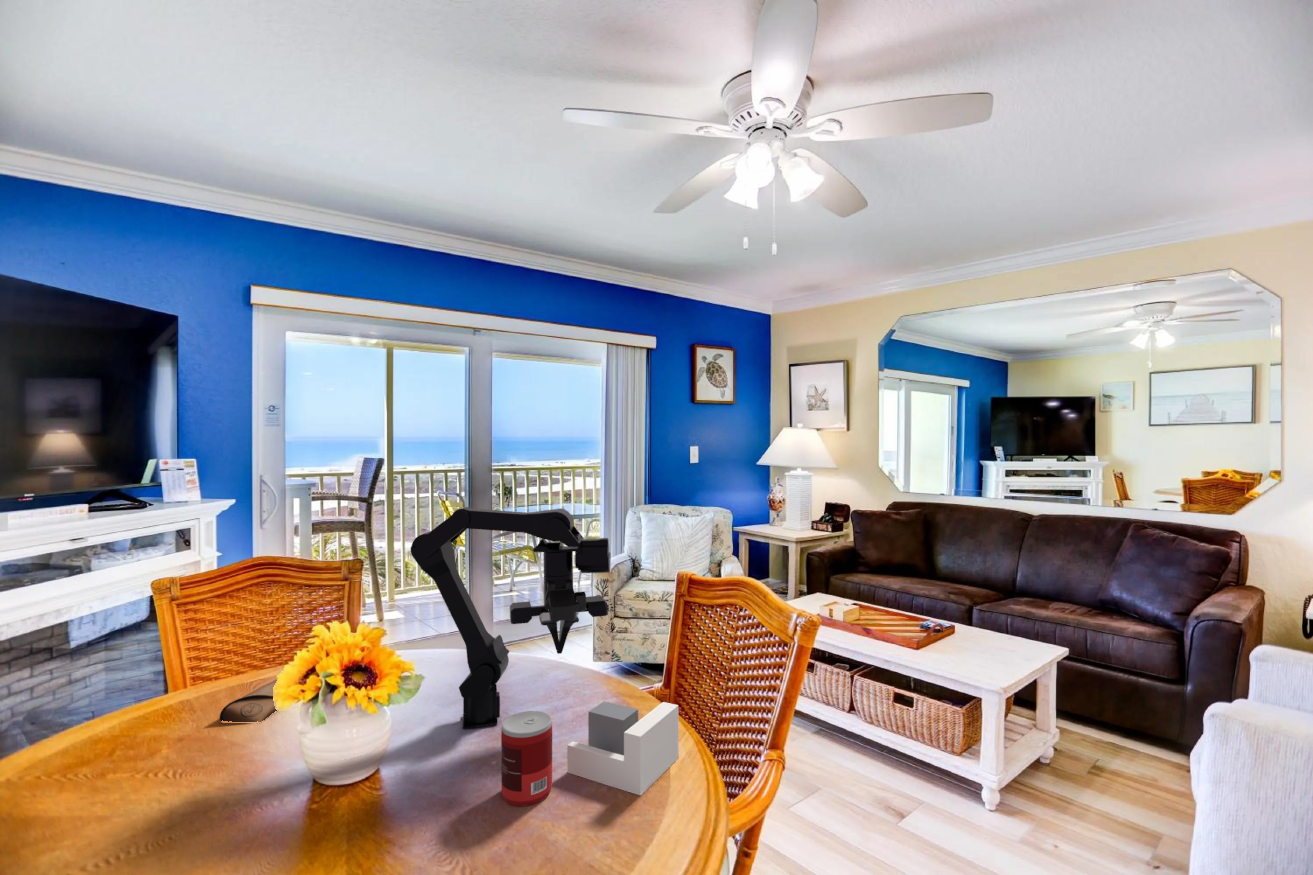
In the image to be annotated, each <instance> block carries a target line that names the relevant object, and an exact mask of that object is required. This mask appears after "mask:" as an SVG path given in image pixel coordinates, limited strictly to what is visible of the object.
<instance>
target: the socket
mask: <svg viewBox="0 0 1313 875" xmlns="http://www.w3.org/2000/svg"><path fill="white" fill-rule="evenodd" d="M679 729H680V728H679V705H678V704H674V703H669V702H666V701H663V702H661V703H660V704H659V705H657V706H656V707H654V708H653V709H652V710H651V711H650V712H648V713H647V714H645V715H644V716H643V717H642V718H640V719H638V722H637V723H635V724H634V725H633V726H631V727H630V728H629V729H628V730H626V731H625V732H624V756H623V755H620V754H616V753H613V752H609V751H606V750H602V749H599V748H595V747H592V746H588V744H584V743H581V742H577V741H573V740H572V741H571V742H569V743H568V744H567V745H566V746H567V748H566V749H567V752H566V754H567V757H566V758H567V759H566V760H567V765H566V766H567V769H566V770H567V771H566V772H567V773H568V774H571V775H574V776H577V777H581V778H584V779H586V780H590V781H592V782H595V783H600V784H602V785H606V786H609V787H612V788H615V789H619V790H622V791H625V792H628V793H632V794H634V795H638V796H640V797H641V796H642V795H643V794H644V793H645V792H646V791H647V790H648V789H649V788H650V787H651V786H652V785H653V784H654V783H655V782H656V781H657V780H658V779H659V778H660V777H661V776H662V775H663V774H664V773H665V772H666V771H667V770H668V769H669V768H671V766H672V765H673V764H674V763H675V762H676V761H677V760H678V759H679V754H680V753H679V752H680V751H679V746H680V745H679V742H680V739H679V737H680V736H679Z"/></svg>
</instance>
